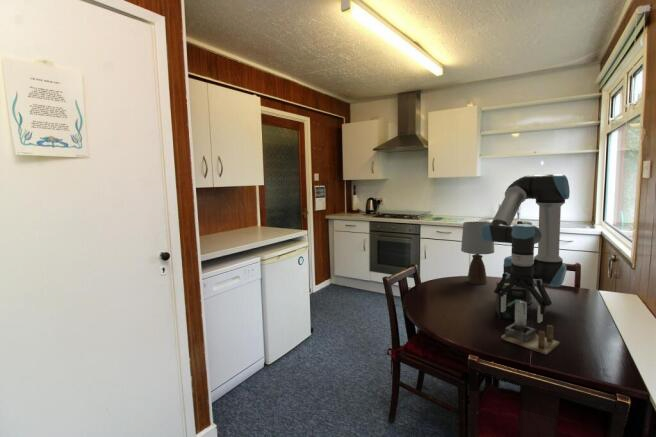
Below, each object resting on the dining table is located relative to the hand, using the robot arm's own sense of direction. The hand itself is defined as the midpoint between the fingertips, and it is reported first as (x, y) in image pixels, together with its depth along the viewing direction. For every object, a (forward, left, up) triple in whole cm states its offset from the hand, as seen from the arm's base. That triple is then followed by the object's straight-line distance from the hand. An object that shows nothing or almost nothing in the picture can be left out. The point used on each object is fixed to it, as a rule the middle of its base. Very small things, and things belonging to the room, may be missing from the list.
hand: (520, 316), depth 129 cm
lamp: (-49, +56, -9) cm, 75 cm away
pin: (0, 0, -8) cm, 8 cm away
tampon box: (-12, +19, -9) cm, 24 cm away
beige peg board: (+4, 0, -9) cm, 10 cm away
